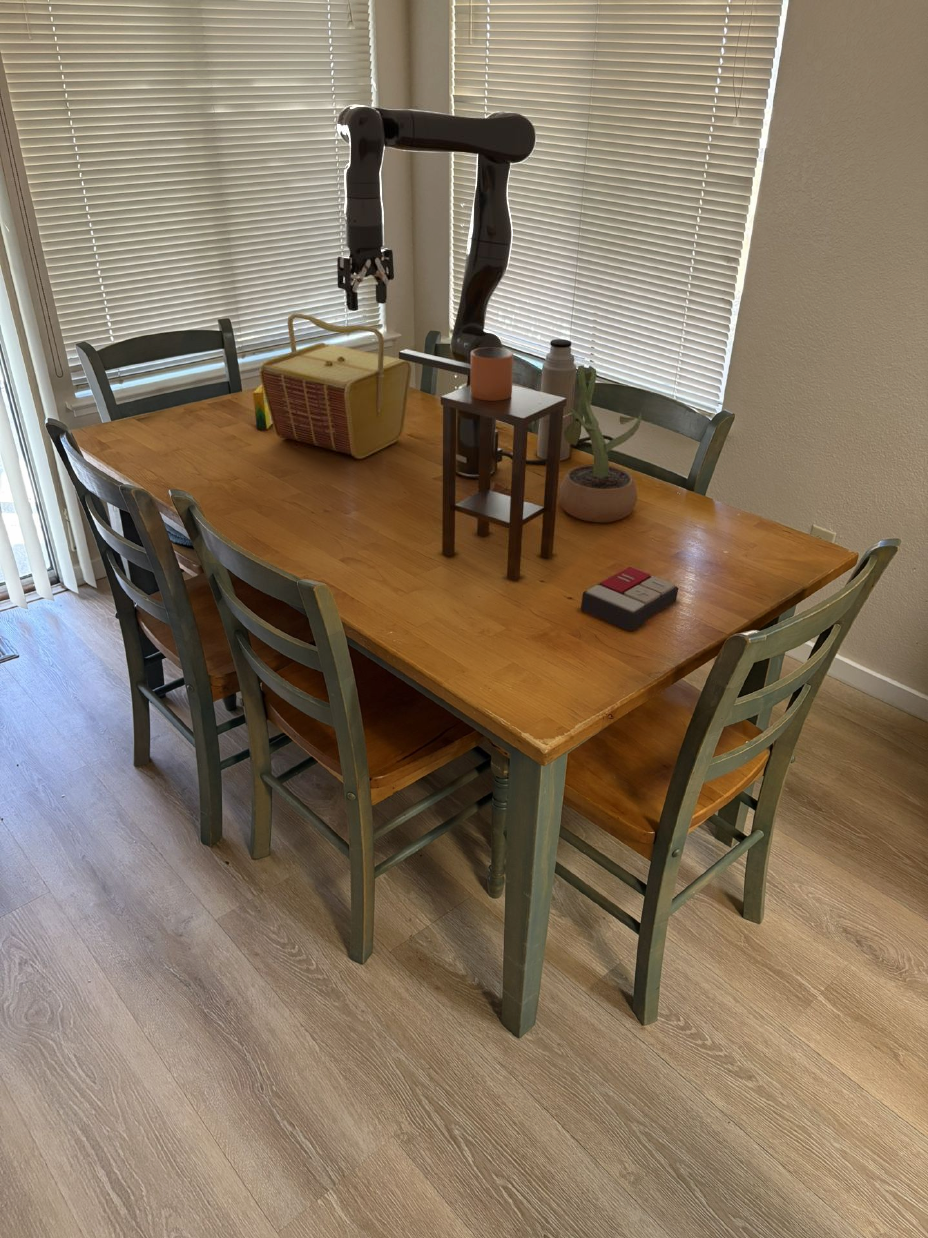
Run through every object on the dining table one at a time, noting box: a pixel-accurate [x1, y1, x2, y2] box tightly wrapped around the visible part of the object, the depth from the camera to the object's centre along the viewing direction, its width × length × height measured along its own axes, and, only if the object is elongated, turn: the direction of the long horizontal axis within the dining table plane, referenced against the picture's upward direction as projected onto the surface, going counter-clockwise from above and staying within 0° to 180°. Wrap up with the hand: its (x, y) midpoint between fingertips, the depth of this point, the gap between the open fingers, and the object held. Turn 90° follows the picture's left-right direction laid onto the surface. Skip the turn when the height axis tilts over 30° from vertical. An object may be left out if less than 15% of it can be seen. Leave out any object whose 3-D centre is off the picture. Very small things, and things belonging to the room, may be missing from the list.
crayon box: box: [252, 383, 273, 430], centre depth 243 cm, size 7×3×12 cm, turn 172°
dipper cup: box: [398, 347, 514, 401], centre depth 172 cm, size 25×8×8 cm, turn 53°
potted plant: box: [545, 365, 642, 524], centre depth 198 cm, size 22×18×30 cm
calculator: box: [580, 566, 679, 632], centre depth 168 cm, size 11×4×15 cm
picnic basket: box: [258, 312, 413, 460], centre depth 229 cm, size 29×26×30 cm
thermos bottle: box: [536, 338, 577, 461], centre depth 224 cm, size 8×8×28 cm
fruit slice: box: [490, 480, 511, 497], centre depth 203 cm, size 8×7×5 cm
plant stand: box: [440, 384, 567, 582], centre depth 176 cm, size 18×14×32 cm
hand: (367, 306), depth 191 cm, fingers open, 8 cm apart
